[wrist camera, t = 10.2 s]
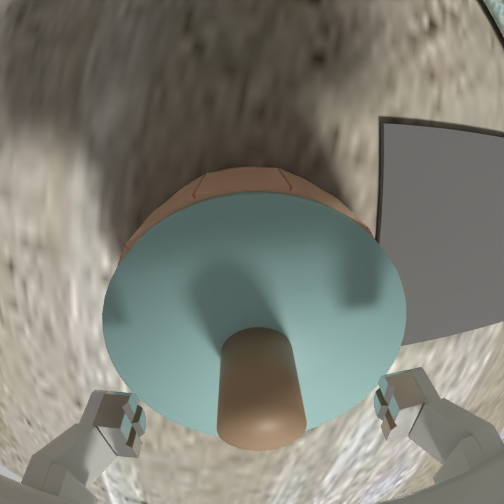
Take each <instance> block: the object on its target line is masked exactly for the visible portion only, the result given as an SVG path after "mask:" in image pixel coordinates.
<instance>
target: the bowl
mask: <svg viewBox="0 0 504 504" xmlns="http://www.w3.org/2000/svg"><path fill="white" fill-rule="evenodd" d="M248 191H270V192H279V193H288V194H293V195H297V196H301V197H305V198H309V199H313V200H315V201H318V202H320V203H322V204H325V205H327V206H330V207H332V208H334V209H336V210H338V211H339V212H341V213H343V214H344V215H346V216H348V217H349V218H351V219H352V220H354V221H355V222H356V223H357V224H358V225H360V226H361V227H362V228H363V229H364V230H365V231H367V232H368V233H369V234H370V235H371V236H372V237H373V235H372V233H371V231H370V229H369V228H368V227H367V226H366V225H365V224H364V223H363V222H362V221H361V220H360V219H359V218H358V217H357V216H356V215H355V214H353V213H352V212H351V211H350V210H349V209H348V208H347V207H346V206H345V205H344V204H343V203H342V202H341V201H340V200H339V199H337V198H336V197H334V196H332V195H330V194H328V193H327V192H325V191H323V190H321V189H320V188H319V187H317V186H316V185H314V184H312V183H311V182H309V181H307V180H306V179H304V178H302V177H299V176H297V175H295V174H292V173H290V172H286V171H284V170H282V169H280V168H279V169H277V167H275V168H268V167H261V166H240V167H233V168H227V169H222V170H219V171H215V172H209V173H206V175H205V174H203V175H202V176H200V177H199V178H198V179H196V180H194V181H192V182H190V183H189V184H187V185H186V186H184V187H183V188H181V189H180V190H179V191H178V192H176V193H175V194H174V195H173V196H172V197H170V198H169V199H168V201H166V202H165V203H164V204H162V205H161V206H160V207H158V208H157V209H156V210H154V211H153V212H152V213H151V214H150V215H149V217H148V218H147V219H146V220H145V221H144V222H143V224H142V225H141V226H140V227H139V228H138V230H137V231H136V232H135V233H134V234H133V236H132V237H131V238H130V239H129V241H128V242H127V243H126V244H125V246H124V247H123V250H122V254H121V257H120V260H119V263H118V265H119V264H120V262H121V261H122V260H123V258H124V257H125V256H126V254H127V253H128V252H129V250H130V249H131V248H132V247H133V245H134V244H135V243H136V242H137V240H138V239H139V238H140V237H141V236H142V235H143V234H145V233H146V232H147V231H148V230H149V229H150V228H151V227H152V226H153V225H155V224H156V223H158V222H159V221H161V220H162V219H164V218H165V217H167V216H168V215H170V214H171V213H173V212H175V211H177V210H179V209H181V208H183V207H185V206H188V205H190V204H192V203H194V202H198V201H201V200H204V199H207V198H210V197H214V196H218V195H224V194H230V193H236V192H248ZM373 238H374V237H373Z"/></svg>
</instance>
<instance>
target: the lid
mask: <svg viewBox="0 0 504 504" xmlns="http://www.w3.org/2000/svg"><path fill="white" fill-rule="evenodd" d="M102 319H103V334H104V339H105V344H106V348H107V350H108V353H109V356H110V359H111V361H112V363H113V365H114V367H115V368H116V370H117V372H118V374H119V375H120V377H121V378H122V379H123V381H124V382H125V384H126V385H127V386H128V387H129V388H130V389H131V391H132V392H133V393H134V394H136V396H137V397H138V398H139V399H141V400H142V401H143V402H144V403H145V404H146V405H148V406H149V407H150V408H152V409H153V410H155V411H156V412H158V413H159V414H161V415H162V416H164V417H166V418H168V419H169V420H171V421H173V422H175V423H177V424H180V425H182V426H185V427H187V428H190V429H193V430H196V431H199V432H202V433H206V434H210V435H215V436H220V438H221V439H222V440H223V441H225V442H226V443H228V444H230V445H232V446H234V447H237V448H240V449H245V450H253V451H263V450H272V449H276V448H280V447H283V446H286V445H288V444H290V443H292V442H294V441H295V440H297V439H298V438H299V437H301V435H302V434H303V433H304V432H305V430H309V429H312V428H314V427H317V426H319V425H322V424H324V423H326V422H328V421H330V420H332V419H334V418H336V417H338V416H340V415H342V414H343V413H345V412H346V411H348V410H349V409H351V408H352V407H354V406H355V405H356V404H358V403H359V402H360V401H361V400H363V399H364V398H365V397H366V396H367V395H368V394H369V393H370V392H371V391H372V390H373V389H374V388H375V387H376V386H377V385H378V382H379V378H380V377H381V376H382V375H386V373H387V372H388V370H389V369H390V367H391V365H392V364H393V362H394V360H395V358H396V356H397V353H398V351H399V349H400V346H401V343H402V340H403V336H404V331H405V325H406V300H405V294H404V289H403V285H402V283H401V280H400V277H399V274H398V272H397V270H396V268H395V266H394V265H393V263H392V261H391V259H390V258H389V256H388V255H387V253H386V252H385V251H384V250H383V249H382V247H381V246H380V245H379V244H378V243H377V242H376V240H375V239H374V238H373V237H372V236H371V235H370V234H369V233H368V232H367V231H365V230H364V229H363V228H362V227H361V226H360V225H358V224H357V223H356V222H355V221H354V220H352V219H351V218H349V217H348V216H346V215H344V214H343V213H341V212H339V211H338V210H336V209H334V208H332V207H330V206H327V205H325V204H322V203H320V202H318V201H315V200H313V199H309V198H305V197H301V196H297V195H293V194H288V193H279V192H270V191H248V192H236V193H230V194H224V195H218V196H214V197H210V198H207V199H204V200H201V201H198V202H194V203H192V204H190V205H188V206H185V207H183V208H181V209H179V210H177V211H175V212H173V213H171V214H170V215H168V216H167V217H165V218H164V219H162V220H161V221H159V222H158V223H156V224H155V225H153V226H152V227H151V228H150V229H149V230H148V231H147V232H146V233H145V234H143V235H142V236H141V237H140V238H139V239H138V240H137V242H136V243H135V244H134V245H133V247H132V248H131V249H130V250H129V252H128V253H127V254H126V256H125V257H124V258H123V260H122V261H121V262H120V264H119V265H118V267H117V269H116V271H115V273H114V275H113V277H112V279H111V280H110V283H109V286H108V289H107V292H106V295H105V299H104V306H103V313H102Z"/></svg>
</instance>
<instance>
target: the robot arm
mask: <svg viewBox="0 0 504 504" xmlns="http://www.w3.org/2000/svg"><path fill="white" fill-rule="evenodd" d="M378 385H379V387H380V388H379V389H378V390H377V391H376V392H375V396H374V408H375V412H376V415H377V417H378V418H380V419H381V420H383V422H382V425H381V428H382V431H383V434H384V436H385V439H386V441H389V440H393V439H398V438H402V437H406V436H408V437H409V438H410V439H411V440H413V441H414V442H415V443H416V444H417V445H419V446H420V447H421V448H422V449H424V450H425V451H426V452H427V453H429V454H430V455H431V456H432V457H434V458H435V459H436V460H437V461H439V462H440V463H441V464H442V466H441V467H440V468H439V469H438V471H437V472H436V473H435V475H434V476H433V479H434V481H435V485H432V486H430V487H427V488H424V489H421V490H418V491H415V492H412V493H409V494H406V495H403V496H400V497H397V498H393V499H390V500H386V501H383V502H379V503H375V504H504V443H503V441H502V440H501V438H500V436H499V434H498V433H497V431H496V429H495V427H494V426H493V425H492V424H491V423H489V422H487V421H485V420H483V419H481V418H479V417H478V416H476V415H474V414H472V413H470V412H468V411H467V410H465V409H463V408H461V407H459V406H458V405H456V404H454V403H452V402H450V401H449V400H447V399H445V398H443V399H441V398H440V397H439V395H438V393H437V391H436V390H435V388H434V386H433V385H432V383H431V381H430V379H429V378H428V376H427V374H426V373H425V371H424V369H423V368H421V367H419V368H415V369H410V370H405V371H401V372H396V373H392V374H387V375H382V376H381V377H380V378H379V382H378ZM138 401H139V400H138V398H137V396H136V394H134V393H124V392H114V391H103V390H94V391H93V392H92V394H91V396H90V398H89V401H88V403H87V406H86V408H85V410H84V413H83V415H82V418H81V420H80V423H79V424H74V425H73V426H72V427H70V428H69V429H68V430H66V431H65V432H64V433H62V434H61V435H60V436H58V437H57V438H55V439H54V440H53V441H51V442H50V443H49V444H47V445H46V446H45V447H43V448H42V449H41V450H39V451H38V452H37V453H35V454H34V455H32V457H31V460H30V462H29V464H28V467H27V469H26V472H25V474H24V477H23V479H22V482H21V483H19V482H17V481H15V480H12V479H10V478H8V477H5V476H3V475H1V474H0V504H97V502H98V499H97V498H96V496H95V495H94V494H92V493H91V492H90V491H89V490H88V489H87V488H88V487H89V486H90V485H91V484H92V483H93V482H94V481H95V480H96V479H97V478H98V477H99V476H100V474H101V473H102V472H103V471H104V470H105V469H106V468H107V467H108V466H109V465H110V464H111V463H112V462H113V461H114V460H115V459H116V457H117V456H123V457H134V458H139V455H140V450H141V446H142V442H141V440H140V438H139V437H140V436H141V435H143V434H144V433H145V428H146V416H145V412H144V410H143V408H142V407H140V406H139V405H137V404H138Z"/></svg>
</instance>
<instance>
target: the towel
mask: <svg viewBox="0 0 504 504" xmlns="http://www.w3.org/2000/svg"><path fill="white" fill-rule="evenodd" d="M483 1H484V3H485V4H486V6H487V8H488V9H489V11H490V13H491V15H492V17H493V18H494V20H495V22H496V24H497V26H498V28H499V29H500V31H501V33H502V35H503V37H504V0H483Z"/></svg>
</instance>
